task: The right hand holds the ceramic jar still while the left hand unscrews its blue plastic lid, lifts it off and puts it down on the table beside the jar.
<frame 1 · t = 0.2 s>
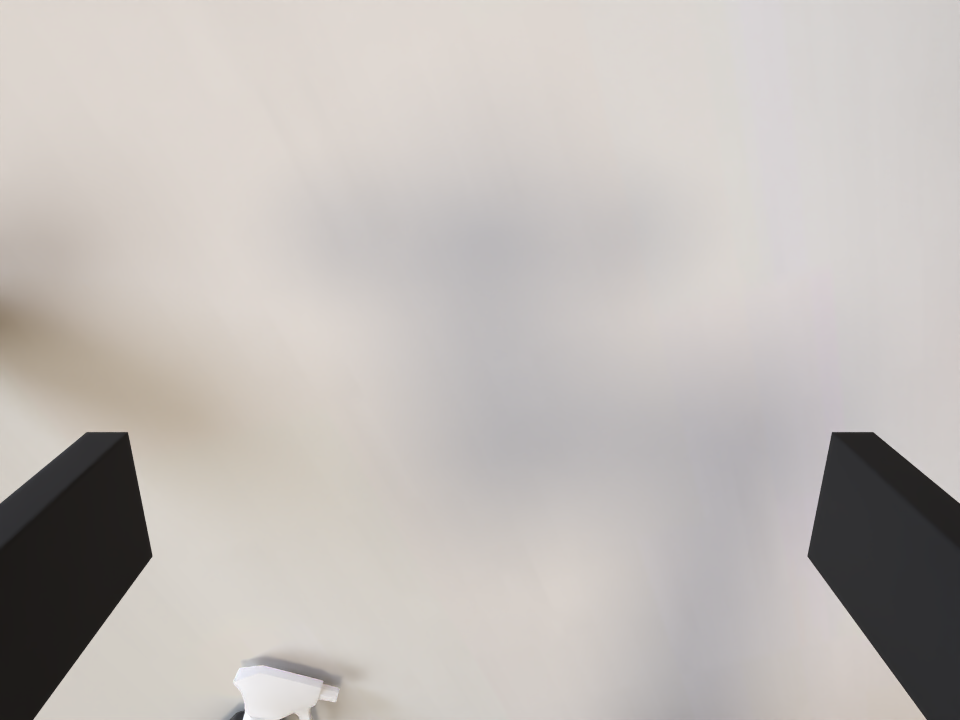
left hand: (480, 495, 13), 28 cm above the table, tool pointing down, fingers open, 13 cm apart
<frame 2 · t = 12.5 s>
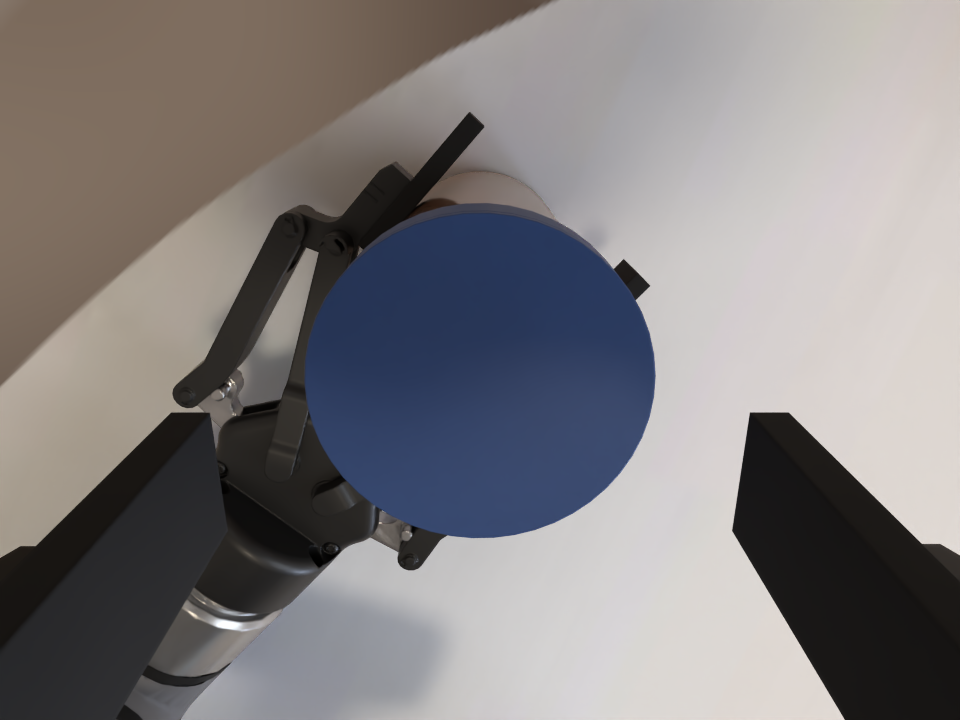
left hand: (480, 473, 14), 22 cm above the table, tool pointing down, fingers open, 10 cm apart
right hand: (559, 198, 27), fingers closed on jar, 8 cm apart
lid: (479, 385, 18), point 17 cm above the table, screwed on, not yet turned
jar: (479, 255, 34), on the table, touching right hand
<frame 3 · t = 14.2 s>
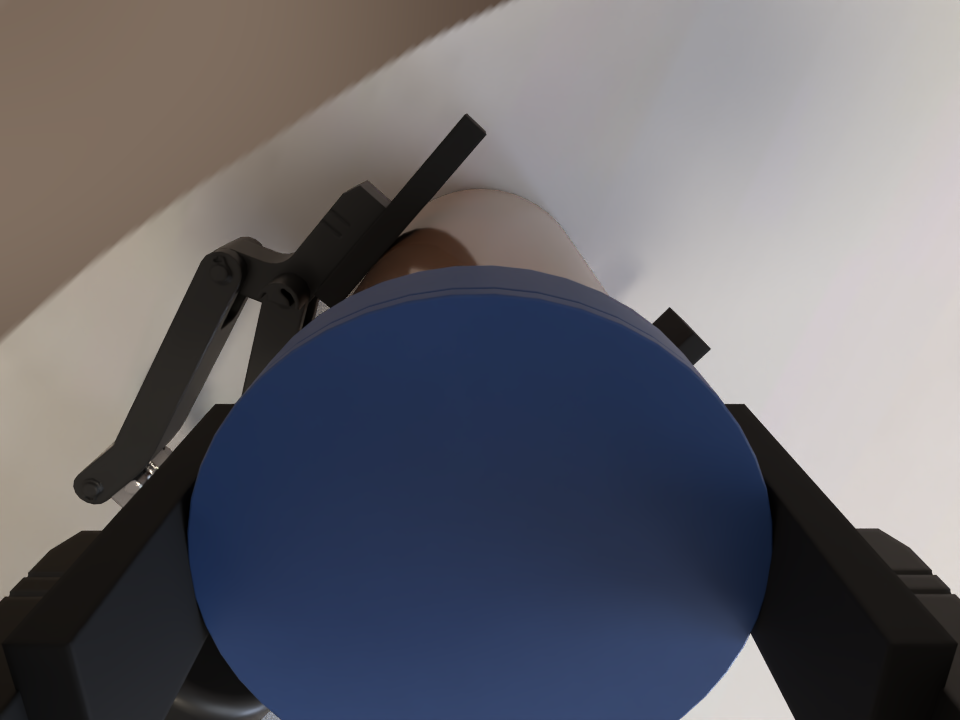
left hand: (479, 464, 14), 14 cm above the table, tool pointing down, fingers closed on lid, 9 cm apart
lid: (479, 562, 11), point 17 cm above the table, screwed on, not yet turned, touching left hand
jar: (480, 294, 27), on the table, touching right hand
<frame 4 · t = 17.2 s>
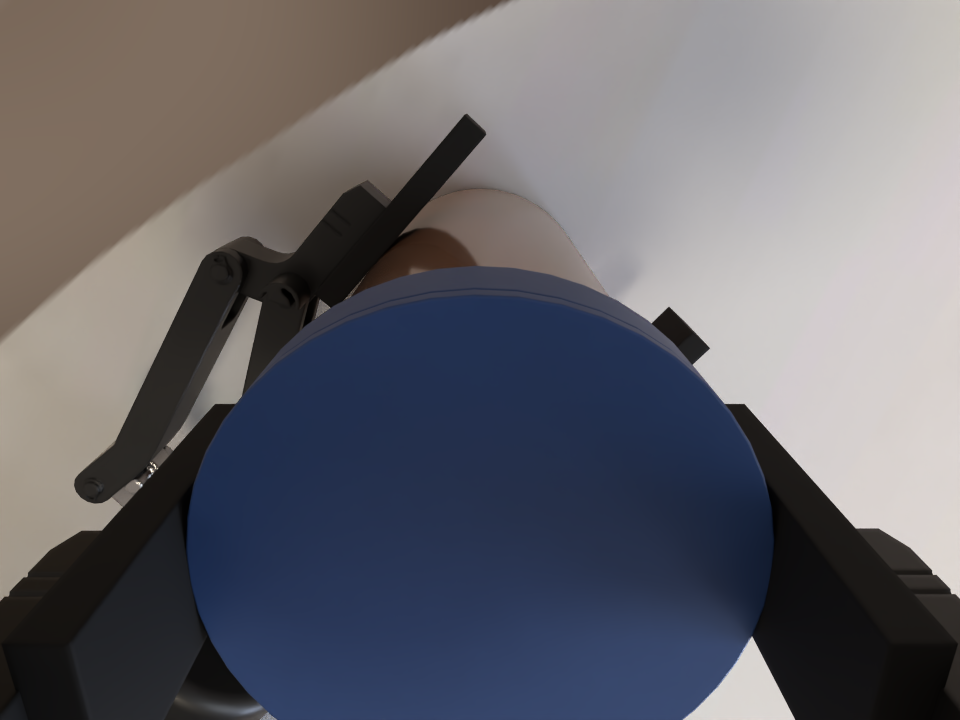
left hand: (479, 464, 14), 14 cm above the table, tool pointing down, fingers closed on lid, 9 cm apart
lid: (480, 564, 11), point 17 cm above the table, turned 86° so far, risen 0.1 cm, still on its thread, touching left hand
jar: (480, 293, 27), on the table, touching right hand
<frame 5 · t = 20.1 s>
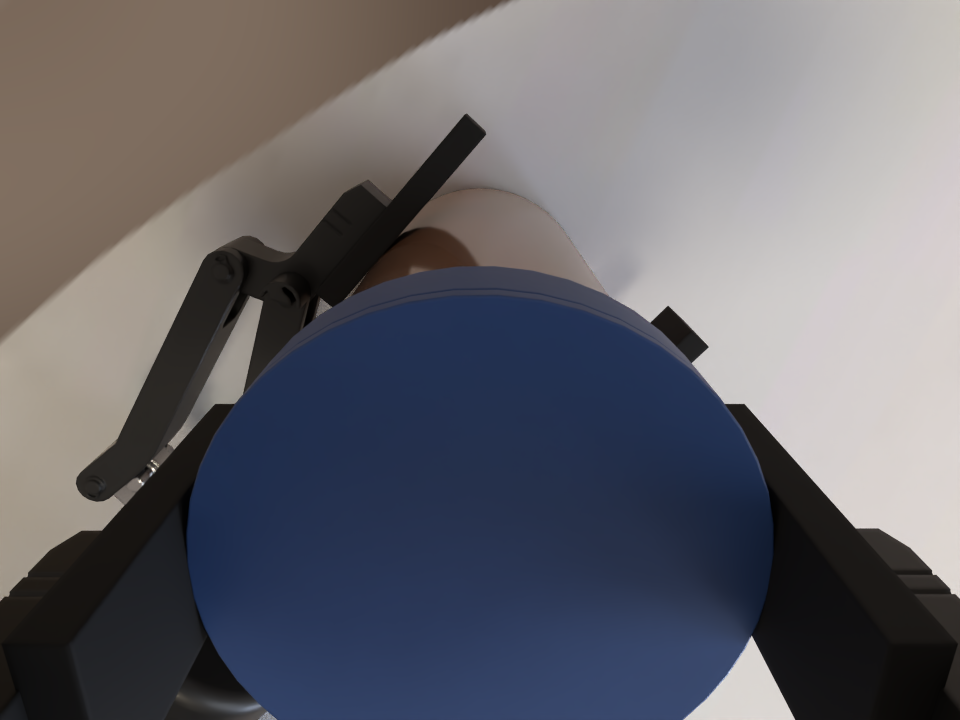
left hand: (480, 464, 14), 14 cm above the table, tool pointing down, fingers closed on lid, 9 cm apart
lid: (480, 564, 11), point 17 cm above the table, turned 172° so far, risen 0.2 cm, still on its thread, touching left hand
jar: (480, 293, 27), on the table, touching right hand
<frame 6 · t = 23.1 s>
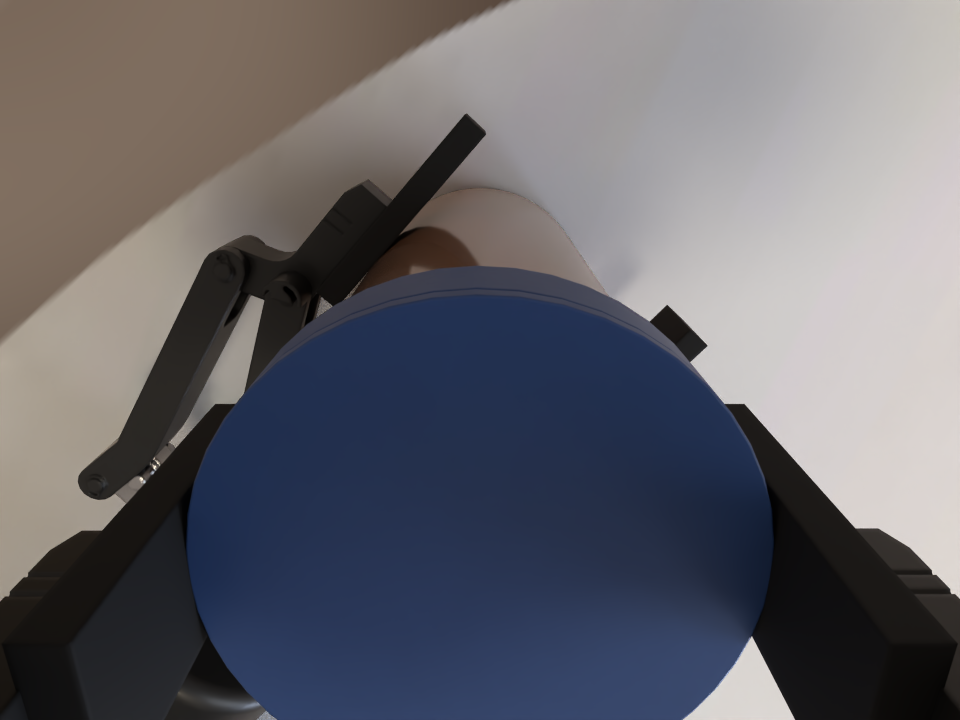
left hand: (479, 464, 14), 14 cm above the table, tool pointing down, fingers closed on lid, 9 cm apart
lid: (479, 564, 11), point 17 cm above the table, turned 258° so far, risen 0.3 cm, still on its thread, touching left hand
jar: (480, 292, 27), on the table, touching right hand
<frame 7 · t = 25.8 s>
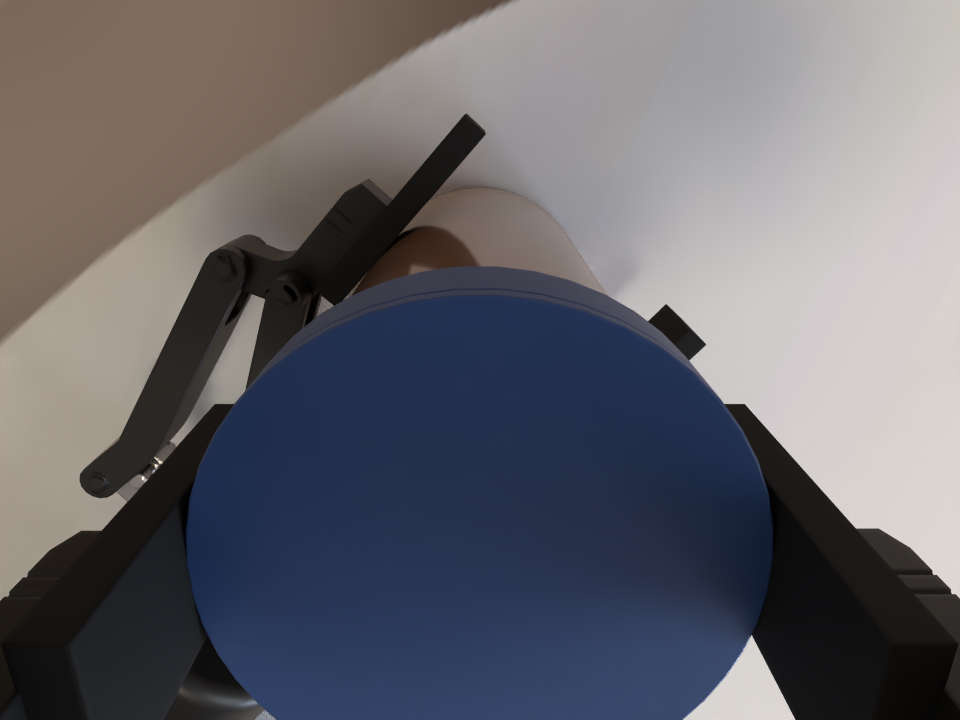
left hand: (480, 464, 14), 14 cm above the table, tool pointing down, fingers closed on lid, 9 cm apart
lid: (479, 564, 11), point 17 cm above the table, turned 344° so far, risen 0.4 cm, still on its thread, touching left hand
jar: (479, 291, 27), on the table, touching right hand
when the left hand's fingers open (0 cm above the table, at t = 32.2 s): lid drops 2 cm, point 2 cm above the table.
when the right hand's fingers open (6 cm above the table, at t = 33.2 s): jar stays where it is, on the table.
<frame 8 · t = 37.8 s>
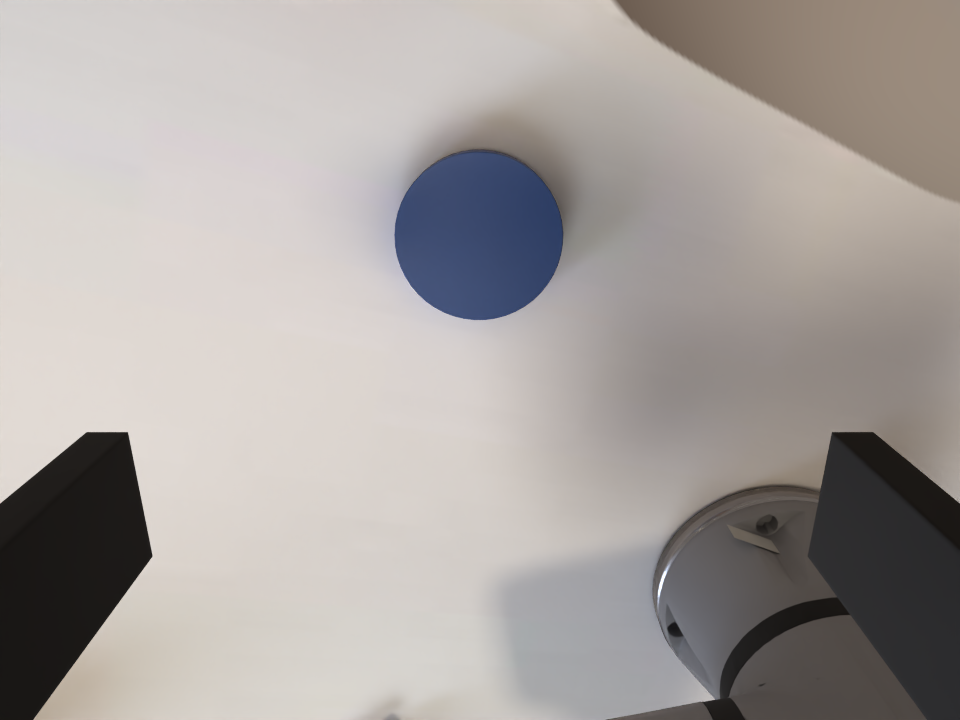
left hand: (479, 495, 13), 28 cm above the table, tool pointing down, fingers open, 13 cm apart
lid: (478, 238, 37), point 2 cm above the table, off its thread
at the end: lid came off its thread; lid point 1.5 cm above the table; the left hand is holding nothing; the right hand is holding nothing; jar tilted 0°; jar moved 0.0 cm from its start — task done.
